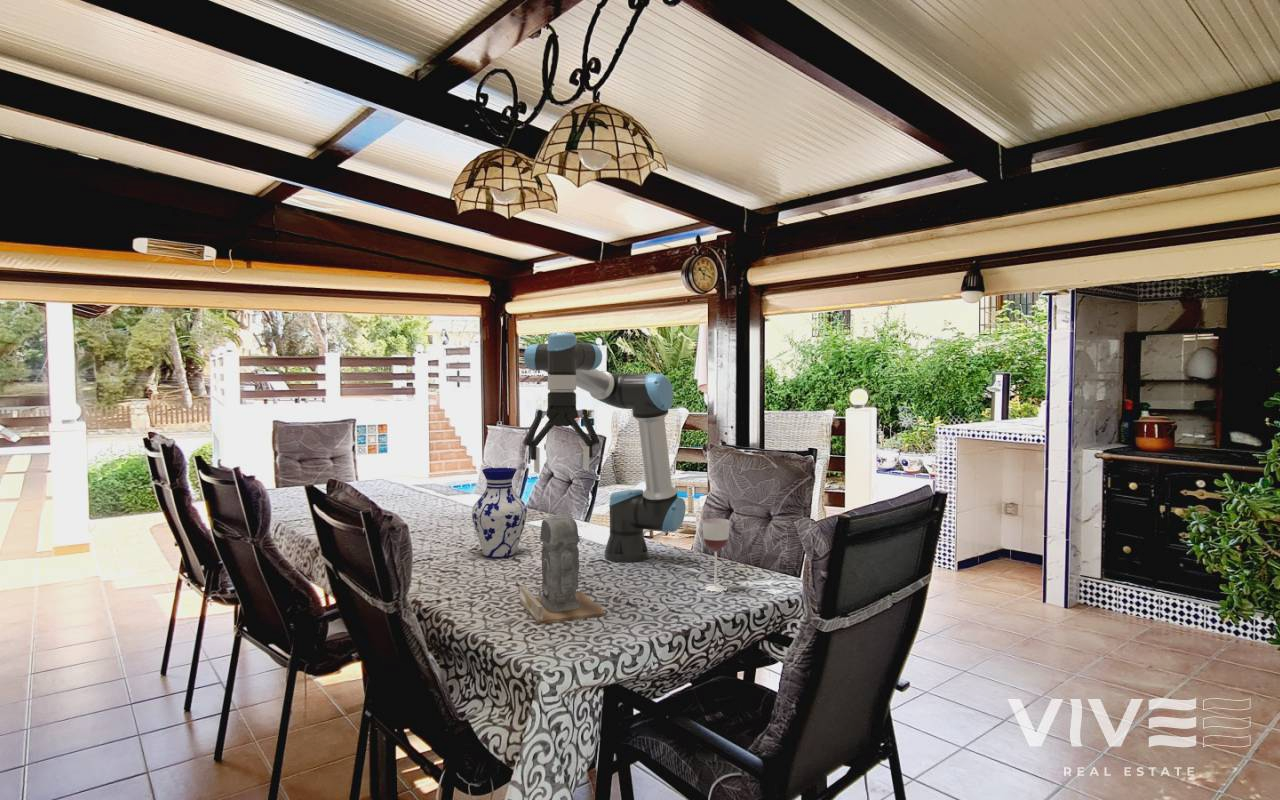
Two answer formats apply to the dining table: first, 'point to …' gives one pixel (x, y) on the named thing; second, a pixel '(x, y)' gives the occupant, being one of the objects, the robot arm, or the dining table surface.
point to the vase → (499, 514)
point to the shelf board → (543, 616)
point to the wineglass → (715, 541)
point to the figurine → (559, 563)
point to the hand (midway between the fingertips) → (561, 471)
